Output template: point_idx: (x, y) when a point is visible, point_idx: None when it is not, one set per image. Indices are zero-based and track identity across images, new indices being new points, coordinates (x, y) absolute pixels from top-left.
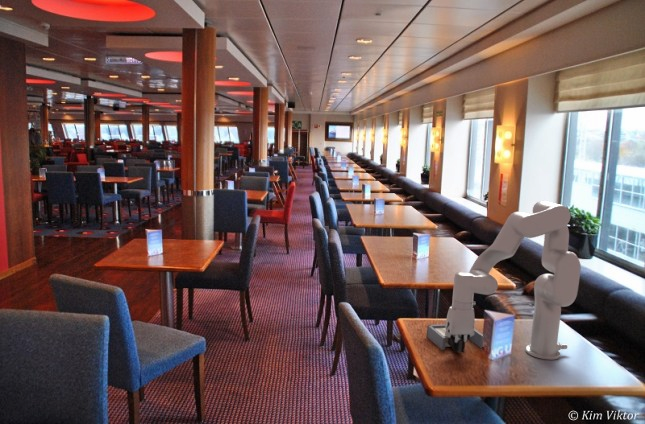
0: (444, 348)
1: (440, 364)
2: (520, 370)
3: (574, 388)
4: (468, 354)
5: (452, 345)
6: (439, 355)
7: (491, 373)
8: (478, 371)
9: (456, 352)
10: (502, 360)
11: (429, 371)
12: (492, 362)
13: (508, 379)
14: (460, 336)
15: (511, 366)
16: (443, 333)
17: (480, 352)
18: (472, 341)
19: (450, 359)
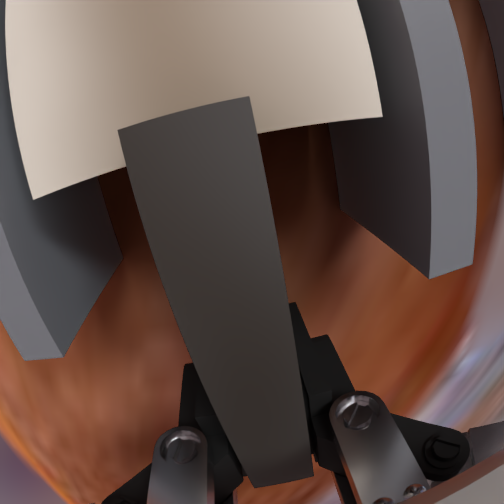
0: (111, 268)
1: (97, 459)
2: (476, 425)
3: None
4: (353, 329)
5: (182, 386)
6: (75, 369)
7: None
8: (292, 490)
9: None
10: (494, 361)
11: (63, 484)
12: (433, 402)
13: None
14: (416, 185)
15: (477, 408)
16: (57, 46)
17: (467, 268)
18: (490, 32)
19: (159, 422)
